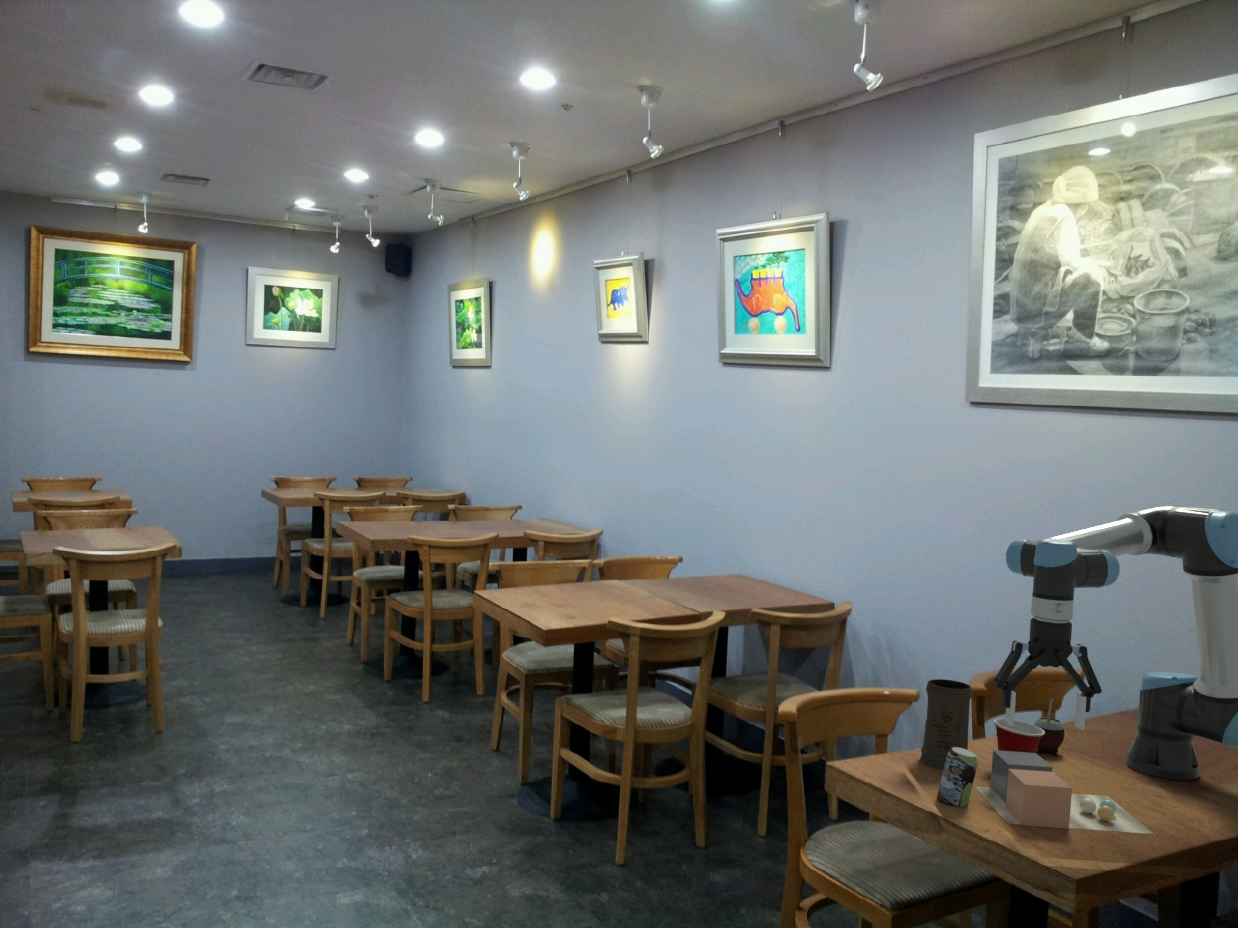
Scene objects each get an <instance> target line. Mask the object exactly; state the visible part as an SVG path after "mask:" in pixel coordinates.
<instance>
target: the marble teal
mask: <svg viewBox="0 0 1238 928" xmlns="http://www.w3.org/2000/svg"><path fill="white" fill-rule="evenodd" d="M1113 801H1114V800H1113ZM1113 801H1111V800H1108V799H1106V800H1103V801H1102V802H1101V803H1100V807H1101V806H1104V805H1106V806H1109V807H1111V808H1112V809H1113V811H1114V813H1115V811H1116V805H1115V803H1116V802H1115V801H1114V802H1115V803H1114V802H1113Z"/></svg>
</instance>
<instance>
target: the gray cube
mask: <svg viewBox="0 0 1238 928" xmlns="http://www.w3.org/2000/svg"><path fill="white" fill-rule="evenodd" d="M1008 769H1018V770H1032V771H1046V772H1053V766H1052V765H1051V764H1049V763H1048V762H1047V761H1046V760H1045V759H1043V758H1042V757H1041V756H1040V755H1039V754H1038V753H1037V752H1036V753H1028V752H1014V751H999V750H998V749H993V750H992V761H991V774H990V785H989V786H990V787H989V788H992V789H993V790H994V791H995V792H996V793H997V794H998V795H999V797H1000V798H1001V799H1002V800H1003V801H1004V802H1005V803H1006V794H1007V781H1008Z"/></svg>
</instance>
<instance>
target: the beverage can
mask: <svg viewBox="0 0 1238 928" xmlns="http://www.w3.org/2000/svg"><path fill="white" fill-rule="evenodd" d="M978 765H979V761H978V759H977V754H976V753H975V752H973V751H972V750H969V749H968V750H967V749H964V748H959V747H953V748H952V750H950V751H949V752H948V754H947V758H946V762H945V766H944V770H942V774H941V779H940V783H939V787H938V792H937V794H936V798H937V800H938V801H939V802H940V803H942V804H944V805H946V806H950V807H953V808H963V807H965V808H966V807H967V806H968V805H969V800H970V797H971V794H972V790H973V785H974V781H975V776H976V773H977V770H978Z"/></svg>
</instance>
